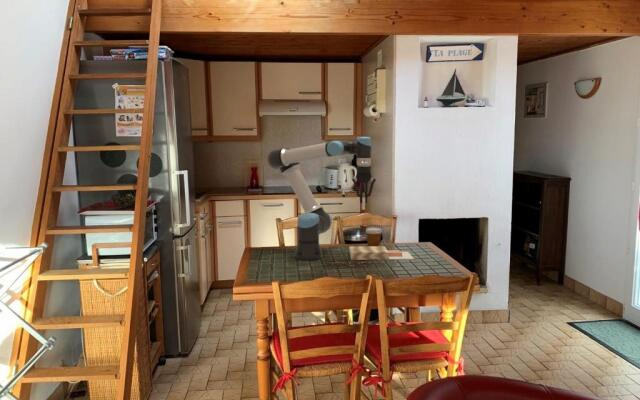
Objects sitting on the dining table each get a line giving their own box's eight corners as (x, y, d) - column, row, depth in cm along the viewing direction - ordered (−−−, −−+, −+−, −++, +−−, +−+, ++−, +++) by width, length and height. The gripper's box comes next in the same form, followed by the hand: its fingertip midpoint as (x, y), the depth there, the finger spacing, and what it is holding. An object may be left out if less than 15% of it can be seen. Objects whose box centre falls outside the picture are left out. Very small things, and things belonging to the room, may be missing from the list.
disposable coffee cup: (378, 251, 275) (378, 231, 274) (363, 249, 279) (363, 229, 278) (383, 248, 284) (384, 228, 282) (368, 246, 288) (368, 226, 286)
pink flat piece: (387, 256, 262) (387, 253, 262) (386, 253, 268) (386, 250, 268) (402, 256, 262) (402, 252, 262) (400, 253, 268) (400, 250, 268)
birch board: (351, 259, 258) (351, 252, 257) (349, 253, 271) (349, 246, 271) (388, 259, 258) (388, 252, 257) (384, 253, 272) (384, 246, 271)
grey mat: (389, 259, 257) (389, 258, 257) (385, 252, 272) (385, 251, 272) (413, 259, 258) (413, 258, 258) (408, 252, 273) (408, 251, 272)
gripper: (352, 166, 254) (352, 210, 257) (376, 166, 254) (376, 210, 257) (351, 165, 261) (350, 208, 265) (375, 165, 262) (374, 208, 265)
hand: (363, 209), depth 261 cm, fingers closed
